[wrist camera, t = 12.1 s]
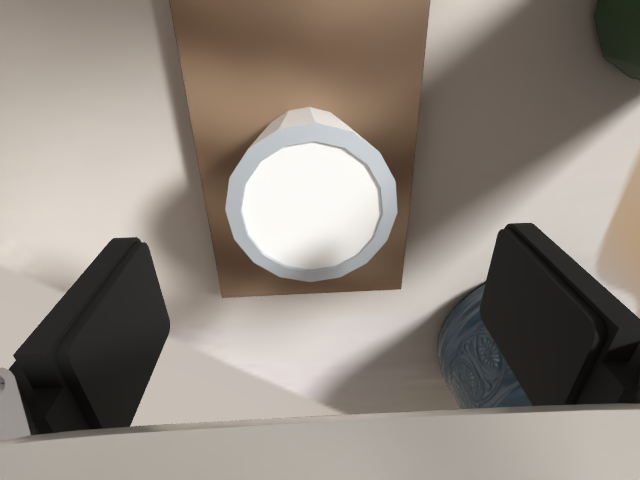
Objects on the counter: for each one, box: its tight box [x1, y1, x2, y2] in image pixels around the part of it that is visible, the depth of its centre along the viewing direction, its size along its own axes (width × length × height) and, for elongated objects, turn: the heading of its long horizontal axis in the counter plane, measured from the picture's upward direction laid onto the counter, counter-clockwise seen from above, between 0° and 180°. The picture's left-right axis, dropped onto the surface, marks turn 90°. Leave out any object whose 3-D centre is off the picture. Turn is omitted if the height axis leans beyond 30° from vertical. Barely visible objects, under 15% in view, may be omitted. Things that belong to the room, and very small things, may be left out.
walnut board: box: [169, 0, 430, 298], centre depth 22 cm, size 18×12×2 cm, turn 1°
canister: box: [438, 284, 532, 409], centre depth 23 cm, size 13×13×18 cm
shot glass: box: [225, 107, 398, 282], centre depth 18 cm, size 7×7×7 cm
